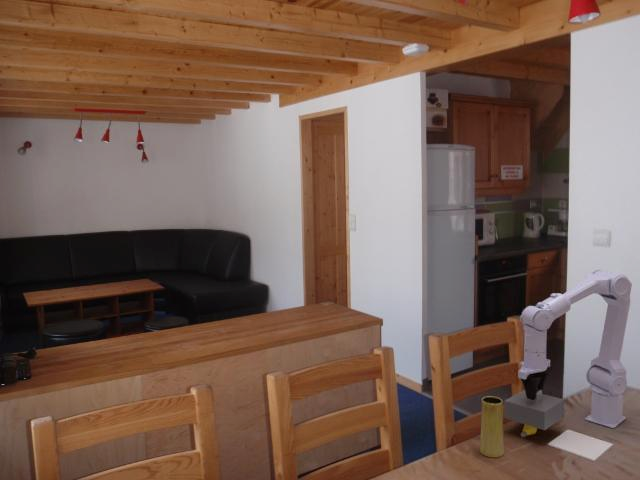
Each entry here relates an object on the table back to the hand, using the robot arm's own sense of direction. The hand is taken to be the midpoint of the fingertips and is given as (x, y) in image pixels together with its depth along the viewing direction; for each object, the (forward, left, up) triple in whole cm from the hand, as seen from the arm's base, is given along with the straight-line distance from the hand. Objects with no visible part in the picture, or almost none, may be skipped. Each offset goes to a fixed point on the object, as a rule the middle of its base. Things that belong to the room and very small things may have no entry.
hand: (534, 397), depth 153 cm
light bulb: (+2, 0, -11) cm, 11 cm away
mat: (-2, +12, -10) cm, 16 cm away
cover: (0, 0, -6) cm, 6 cm away
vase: (+18, -2, -11) cm, 21 cm away
